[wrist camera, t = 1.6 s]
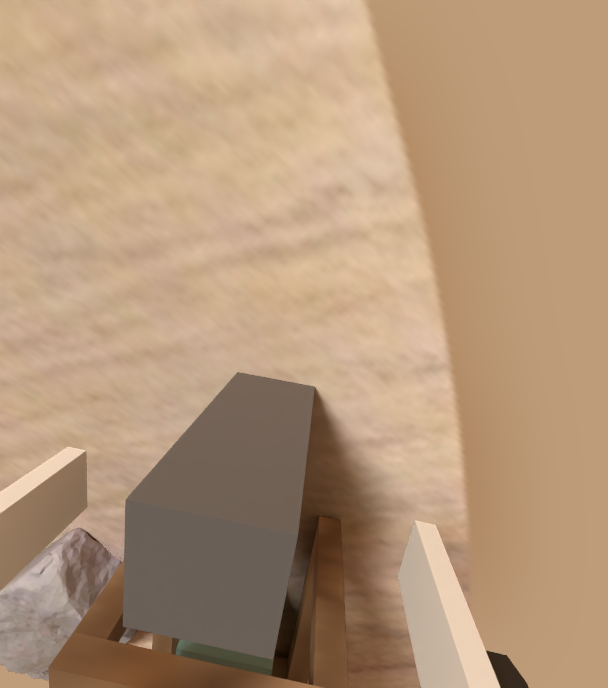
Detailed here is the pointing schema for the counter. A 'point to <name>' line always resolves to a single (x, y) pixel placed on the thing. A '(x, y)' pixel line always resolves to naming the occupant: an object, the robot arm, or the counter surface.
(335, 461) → the counter surface
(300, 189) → the counter surface
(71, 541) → the stone block
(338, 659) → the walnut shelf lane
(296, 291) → the counter surface
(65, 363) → the counter surface
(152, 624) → the tethered block
